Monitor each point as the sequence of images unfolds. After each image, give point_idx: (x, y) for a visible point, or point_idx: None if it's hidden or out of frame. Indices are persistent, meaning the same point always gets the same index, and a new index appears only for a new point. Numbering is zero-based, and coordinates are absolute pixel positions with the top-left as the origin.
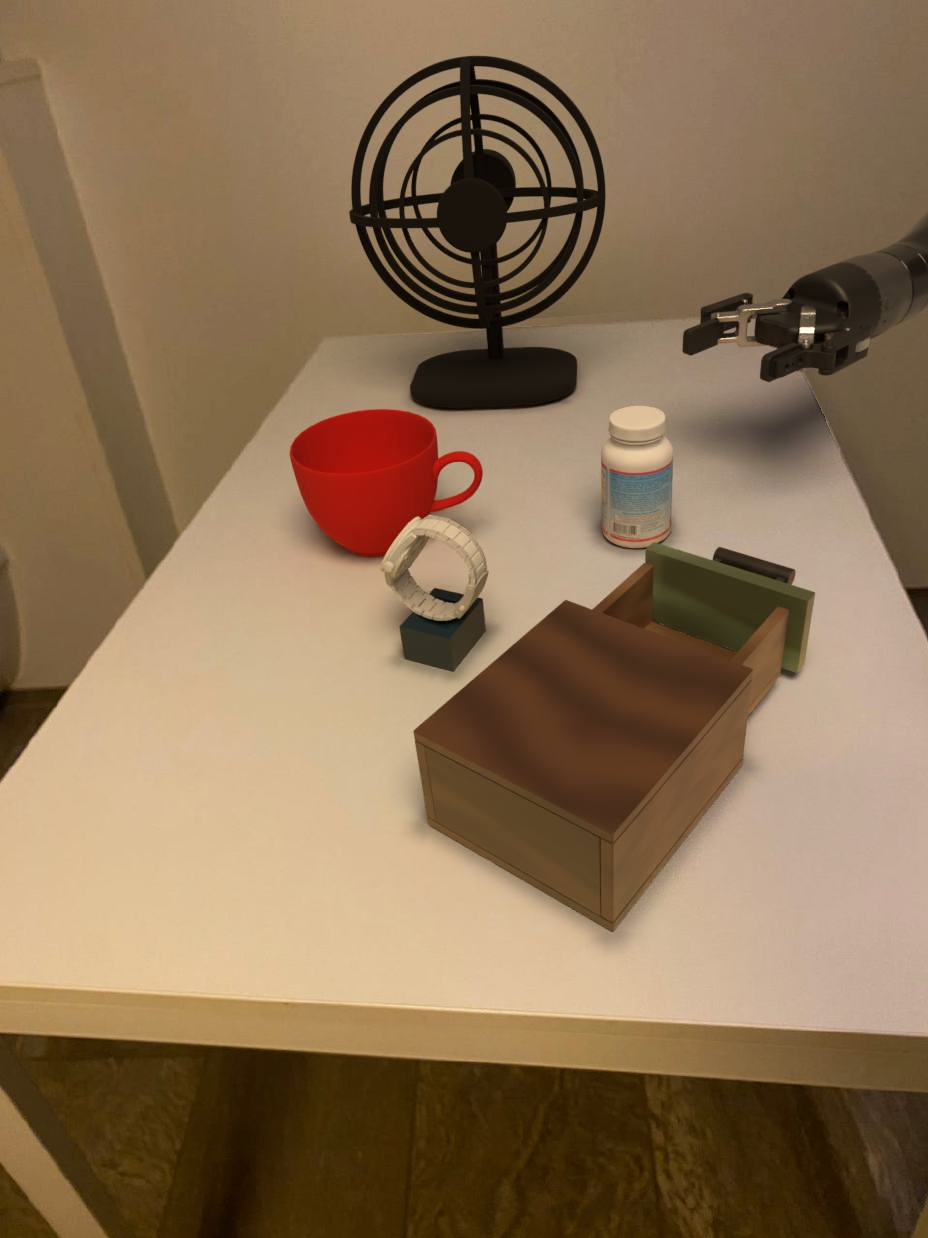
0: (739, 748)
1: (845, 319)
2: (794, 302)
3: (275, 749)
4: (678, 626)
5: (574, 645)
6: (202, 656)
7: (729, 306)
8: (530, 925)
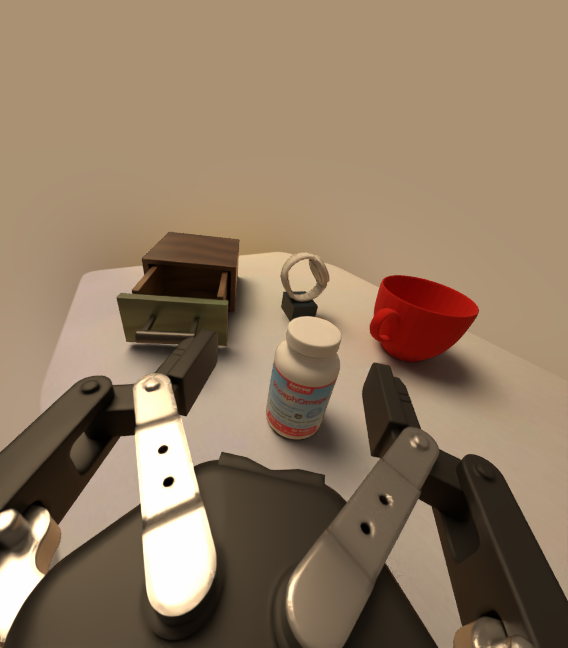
0: None
1: None
2: None
3: (296, 280)
4: None
5: (216, 256)
6: (355, 292)
7: (491, 552)
8: None
